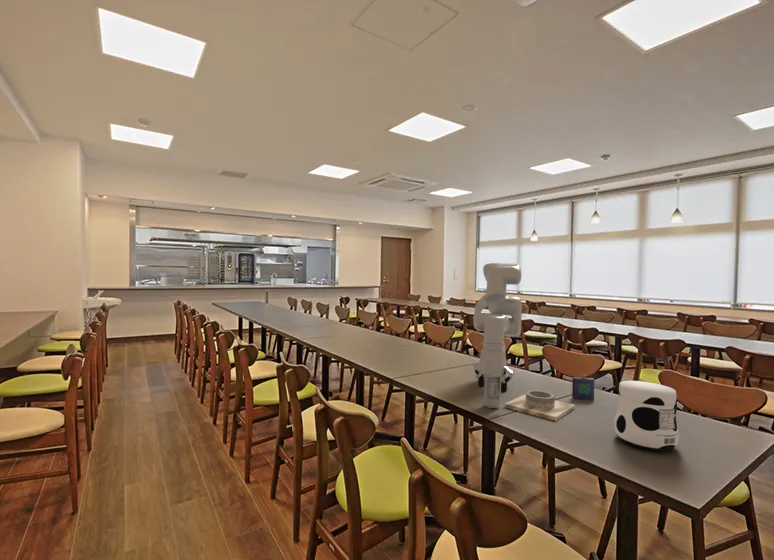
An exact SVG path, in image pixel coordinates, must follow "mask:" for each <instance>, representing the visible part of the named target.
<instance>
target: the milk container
mask: <svg viewBox="0 0 774 560" xmlns="http://www.w3.org/2000/svg"><path fill="white" fill-rule="evenodd" d="M677 400H678V398H677V391H676V389H674V388H672V387H671V386H666V385H663V384H658V383H655V382H649V381H648V382H647V381H641V380H622V381H620V382H619V386H618V395H617V411H616V413H615V416H614V419H613V425H614V426H613V427H614V432H615V435H617V437H618V438H619V439H620V440H622V441H624V442H625V443H627V444H629V445H633V446H634V447H637V448H642V449H646V450H652V451H662V452H663V451H669V450H673V449H676V447H677V446H678V443H679V440H680V430H679V427H678V422H677V411H678V409H677V408H678V405H677V402H678V401H677Z"/></svg>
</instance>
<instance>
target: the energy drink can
mask: <svg viewBox="0 0 774 560" xmlns="http://www.w3.org/2000/svg"><path fill="white" fill-rule="evenodd" d="M483 393H484V395H483V404H484V407H486V408H487V407H488V409H491V408H496V409H498V408H499V407H500V405H501V403H500V402H501V382H500V377H499V378H497V377H493V376H491V374H487V375H485V380H484V390H483Z"/></svg>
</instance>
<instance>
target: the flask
mask: <svg viewBox="0 0 774 560" xmlns="http://www.w3.org/2000/svg"><path fill="white" fill-rule="evenodd" d="M571 384H572V386H571V387H572V390H571V391H572V393H571V397H572V399H573V398H575V399H574V400H580V399H594V400H595V378H593V377H587V375H586V374H585V373H583V374H582V376H575V377H574V376H573V377H572V383H571Z"/></svg>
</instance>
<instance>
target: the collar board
mask: <svg viewBox="0 0 774 560" xmlns="http://www.w3.org/2000/svg"><path fill="white" fill-rule="evenodd" d="M504 408H505V409H508V408H509V410H512V409H513V411H516V410H517V412H520V411H521V412H520V413H523V412H525V413H524V414H527V413H529V414H528V415H531V414H533V415H532V416H534V415H536V417H538V416H539V418H542V417H543V419H546V420H549V419H550V420H549V421H553V420H554V421H553V422H557V421H559V420H560V419H561V417H562V418H563V417H564V415H565V416H566V415H568V414H569V413H571V412H572V411H573V409H574V408H576V405H575V404H573V403H568V402H565V401H564V402H563V401H560V400H556V397H555V395H554V393H553V394H552V393H550V392H548V391H544V390H536V389H535V390H533V389H532V390H527V391H526V392H525V394H522V395H520V396H518V397H516V398H513V399H512V400H509V401H508V402H505V403H504ZM571 410H572V411H571ZM574 410H575V409H574ZM570 411H571V412H570ZM567 413H568V414H567ZM558 419H559V420H558Z"/></svg>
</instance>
